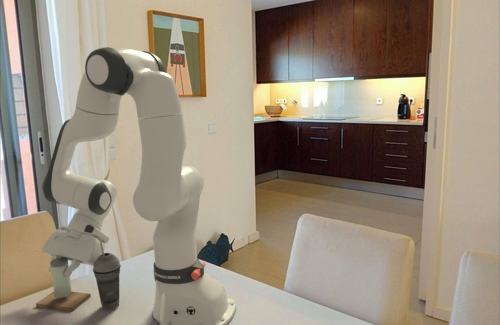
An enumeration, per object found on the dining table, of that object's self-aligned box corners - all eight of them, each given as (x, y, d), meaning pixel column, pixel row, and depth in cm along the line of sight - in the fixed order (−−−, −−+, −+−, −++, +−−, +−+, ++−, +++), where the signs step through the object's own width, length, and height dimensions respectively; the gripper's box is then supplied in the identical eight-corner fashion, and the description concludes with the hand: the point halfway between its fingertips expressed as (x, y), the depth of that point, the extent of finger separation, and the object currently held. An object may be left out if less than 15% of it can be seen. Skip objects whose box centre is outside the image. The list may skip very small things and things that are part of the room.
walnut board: (90, 296, 119) (90, 293, 119) (72, 311, 111) (72, 307, 111) (56, 292, 122) (55, 289, 122) (36, 306, 114) (35, 303, 114)
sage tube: (75, 290, 118) (71, 258, 116) (64, 298, 113) (60, 265, 111) (61, 289, 119) (57, 257, 117) (50, 296, 114) (46, 263, 113)
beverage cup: (115, 314, 109) (108, 244, 105) (91, 312, 110) (84, 243, 107) (129, 300, 116) (122, 234, 112) (106, 298, 117) (99, 233, 114)
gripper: (52, 221, 123) (26, 263, 117) (100, 229, 114) (76, 276, 108) (66, 230, 128) (42, 271, 121) (114, 239, 119) (91, 284, 112)
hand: (58, 273), depth 114 cm, fingers closed on sage tube, 4 cm apart
